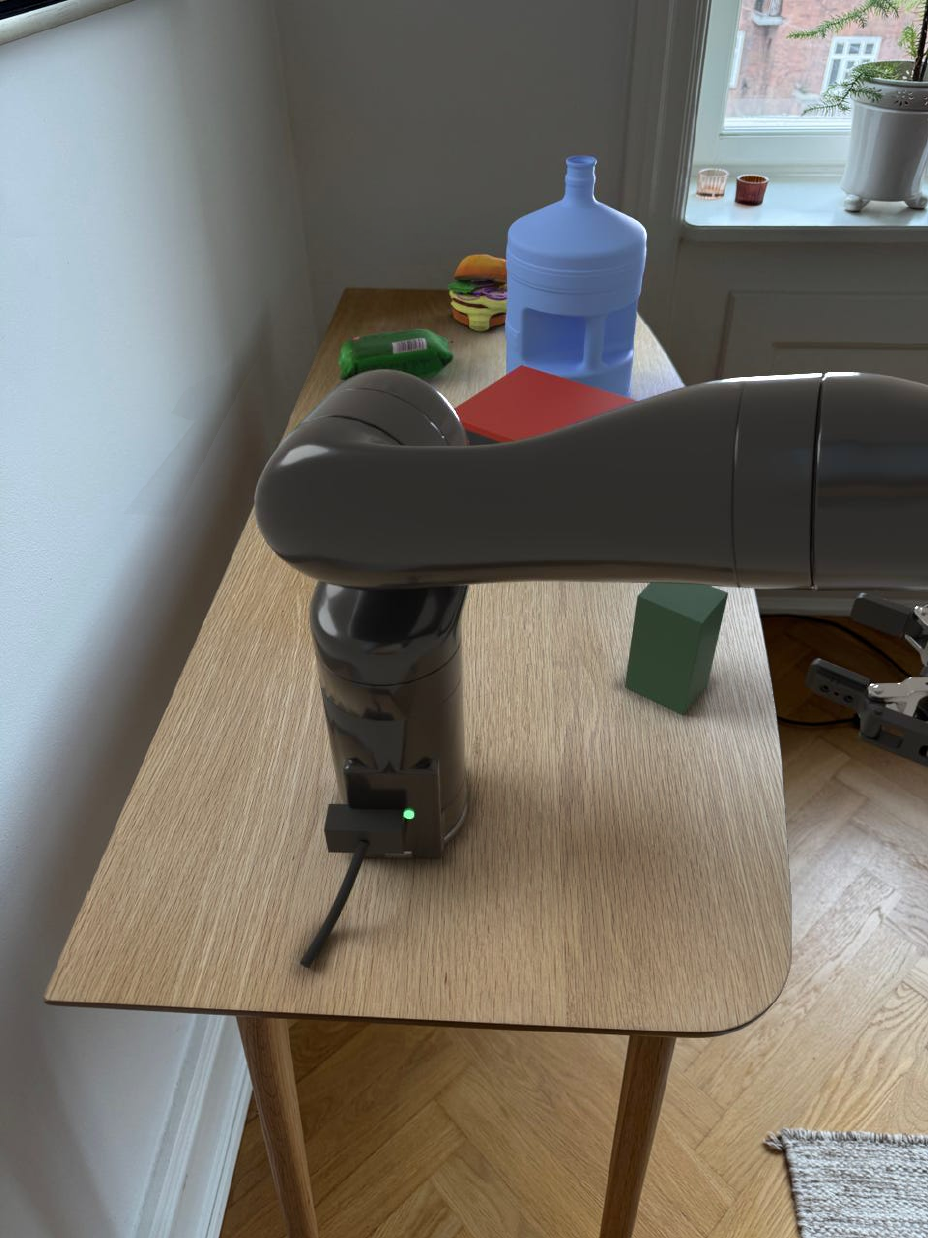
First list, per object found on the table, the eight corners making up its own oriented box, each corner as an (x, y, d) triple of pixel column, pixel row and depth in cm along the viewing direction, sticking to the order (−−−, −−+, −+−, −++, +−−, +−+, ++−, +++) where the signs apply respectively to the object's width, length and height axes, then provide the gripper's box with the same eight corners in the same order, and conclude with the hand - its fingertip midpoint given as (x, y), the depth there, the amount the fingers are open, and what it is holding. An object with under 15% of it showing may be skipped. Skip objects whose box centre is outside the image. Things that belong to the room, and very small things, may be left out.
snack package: (461, 380, 120) (460, 342, 116) (342, 395, 117) (338, 357, 113) (448, 357, 125) (447, 320, 122) (334, 372, 122) (330, 334, 119)
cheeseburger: (442, 331, 131) (442, 256, 126) (455, 319, 140) (455, 249, 136) (512, 333, 129) (515, 258, 125) (521, 321, 139) (523, 250, 134)
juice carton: (683, 715, 74) (702, 623, 68) (624, 687, 77) (637, 595, 70) (708, 684, 77) (728, 592, 70) (650, 657, 80) (664, 566, 73)
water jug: (487, 383, 119) (486, 148, 100) (598, 365, 122) (617, 134, 104) (530, 442, 107) (539, 188, 89) (651, 419, 111) (683, 171, 92)
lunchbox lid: (444, 421, 92) (444, 414, 91) (521, 371, 100) (521, 364, 99) (604, 479, 83) (605, 472, 82) (674, 419, 91) (675, 412, 90)
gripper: (1137, 631, 58) (880, 544, 66) (1093, 772, 50) (804, 654, 57) (1088, 712, 63) (854, 622, 71) (1040, 853, 55) (781, 734, 62)
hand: (832, 636), depth 64 cm, fingers open, 8 cm apart
